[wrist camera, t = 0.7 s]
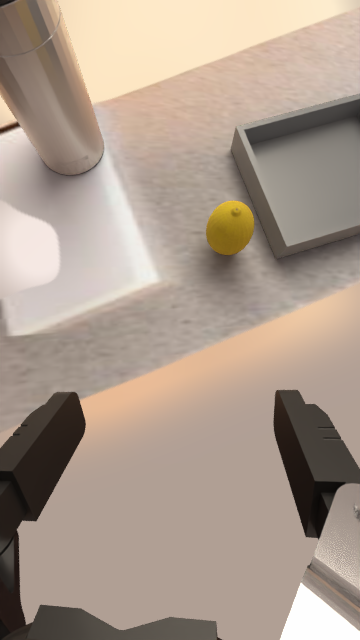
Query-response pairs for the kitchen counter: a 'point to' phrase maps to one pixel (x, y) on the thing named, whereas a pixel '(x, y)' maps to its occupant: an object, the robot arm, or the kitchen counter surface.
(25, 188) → the kitchen counter surface
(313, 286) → the kitchen counter surface
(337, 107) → the tray
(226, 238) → the lemon
